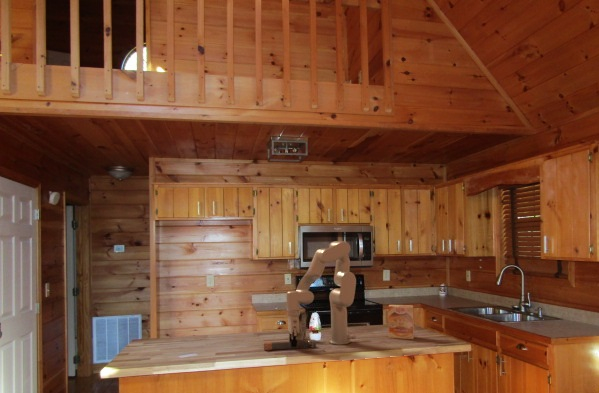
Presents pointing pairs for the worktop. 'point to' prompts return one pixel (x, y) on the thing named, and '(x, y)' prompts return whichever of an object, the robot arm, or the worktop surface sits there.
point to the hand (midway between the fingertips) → (293, 345)
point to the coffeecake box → (401, 321)
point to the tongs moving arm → (287, 345)
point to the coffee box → (301, 327)
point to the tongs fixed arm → (300, 340)
